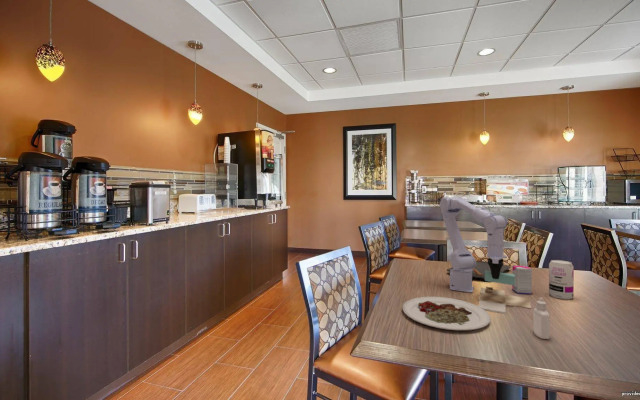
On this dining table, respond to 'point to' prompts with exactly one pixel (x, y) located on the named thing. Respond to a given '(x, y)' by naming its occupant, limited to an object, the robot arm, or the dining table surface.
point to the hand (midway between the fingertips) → (495, 277)
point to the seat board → (503, 298)
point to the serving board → (483, 268)
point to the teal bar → (501, 278)
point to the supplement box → (522, 280)
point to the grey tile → (492, 306)
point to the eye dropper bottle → (541, 320)
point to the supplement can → (561, 279)
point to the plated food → (446, 313)
